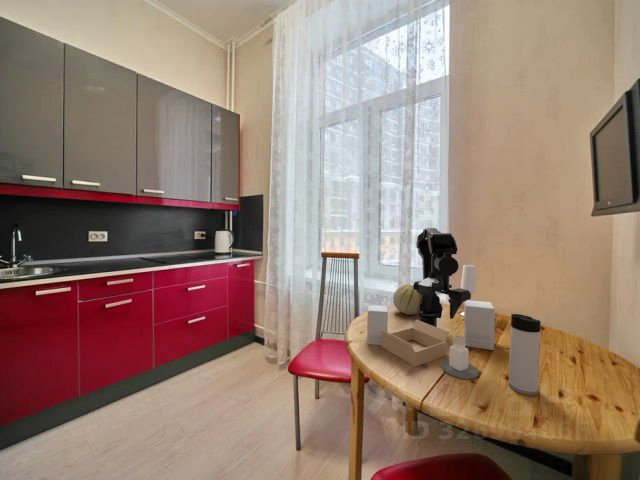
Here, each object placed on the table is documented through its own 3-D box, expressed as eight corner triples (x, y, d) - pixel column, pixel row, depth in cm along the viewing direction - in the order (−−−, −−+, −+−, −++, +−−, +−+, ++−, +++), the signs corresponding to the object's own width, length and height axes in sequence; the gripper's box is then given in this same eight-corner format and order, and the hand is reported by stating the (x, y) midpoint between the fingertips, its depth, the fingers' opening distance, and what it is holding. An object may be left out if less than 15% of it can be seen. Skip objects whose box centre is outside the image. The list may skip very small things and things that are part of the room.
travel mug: (501, 382, 75) (504, 312, 73) (523, 381, 75) (526, 311, 74) (520, 397, 68) (523, 320, 67) (544, 395, 69) (547, 319, 68)
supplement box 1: (387, 346, 97) (387, 311, 97) (367, 344, 99) (367, 310, 98) (386, 337, 105) (387, 305, 104) (367, 336, 106) (367, 304, 105)
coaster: (454, 358, 88) (454, 356, 88) (485, 373, 79) (485, 371, 79) (434, 366, 83) (434, 364, 83) (464, 383, 74) (464, 381, 74)
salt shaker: (460, 372, 79) (461, 341, 78) (448, 366, 82) (449, 336, 82) (468, 369, 80) (469, 338, 80) (456, 363, 84) (457, 333, 83)
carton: (415, 337, 104) (415, 318, 104) (449, 353, 91) (450, 332, 91) (378, 348, 96) (378, 328, 95) (410, 367, 82) (411, 344, 82)
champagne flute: (462, 311, 135) (464, 264, 134) (477, 314, 130) (479, 265, 129) (457, 314, 131) (458, 265, 129) (472, 318, 126) (474, 267, 124)
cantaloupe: (388, 309, 139) (389, 281, 138) (415, 308, 140) (416, 280, 139) (400, 319, 124) (400, 287, 123) (430, 318, 126) (431, 286, 125)
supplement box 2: (490, 340, 101) (491, 301, 100) (494, 350, 93) (495, 308, 92) (463, 336, 105) (464, 299, 104) (464, 346, 97) (465, 305, 96)
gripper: (402, 267, 96) (402, 310, 97) (449, 276, 79) (448, 328, 80) (424, 265, 101) (423, 306, 102) (472, 273, 85) (471, 321, 86)
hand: (439, 314), depth 92 cm, fingers open, 9 cm apart
